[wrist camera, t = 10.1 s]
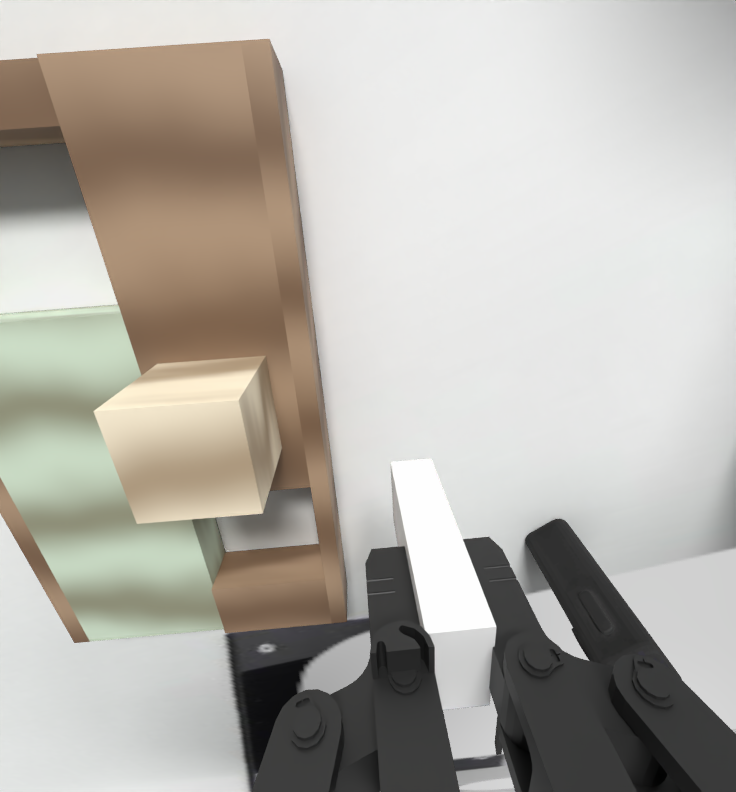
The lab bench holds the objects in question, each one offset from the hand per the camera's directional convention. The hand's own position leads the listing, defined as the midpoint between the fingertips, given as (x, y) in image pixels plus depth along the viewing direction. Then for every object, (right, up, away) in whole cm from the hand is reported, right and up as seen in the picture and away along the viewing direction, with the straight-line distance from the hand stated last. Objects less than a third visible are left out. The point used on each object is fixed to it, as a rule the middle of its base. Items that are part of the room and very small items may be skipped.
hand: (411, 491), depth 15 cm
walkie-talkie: (+12, -7, +14) cm, 19 cm away
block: (-9, +3, +5) cm, 10 cm away
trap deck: (-13, +3, +8) cm, 16 cm away
